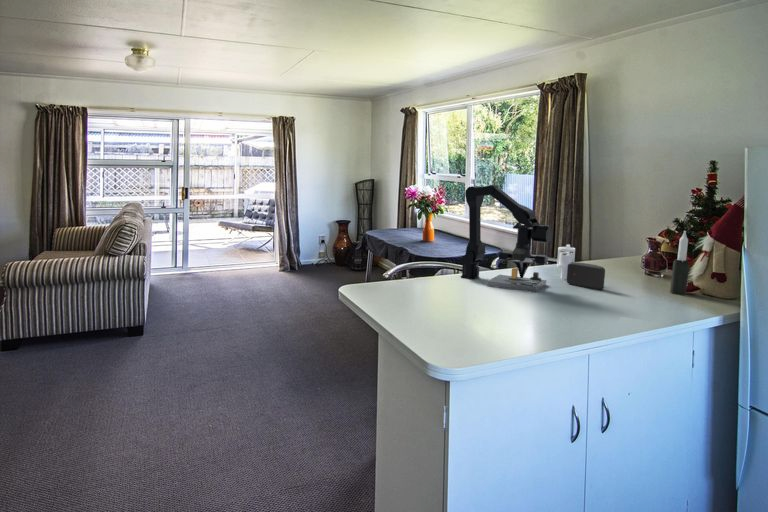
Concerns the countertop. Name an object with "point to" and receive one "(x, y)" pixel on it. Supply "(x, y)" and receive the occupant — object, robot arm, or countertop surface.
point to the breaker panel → (518, 283)
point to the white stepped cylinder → (565, 259)
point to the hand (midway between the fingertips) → (521, 277)
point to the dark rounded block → (586, 275)
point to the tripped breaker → (514, 274)
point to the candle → (680, 268)
